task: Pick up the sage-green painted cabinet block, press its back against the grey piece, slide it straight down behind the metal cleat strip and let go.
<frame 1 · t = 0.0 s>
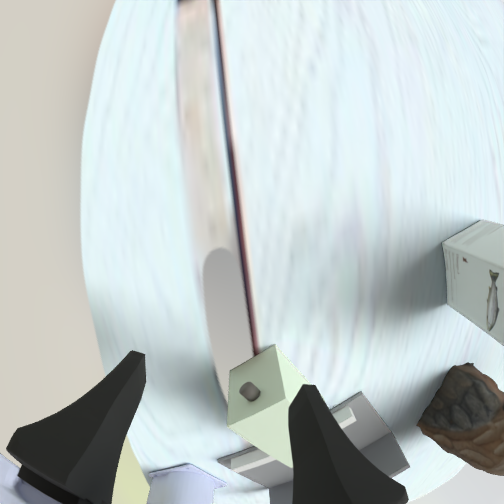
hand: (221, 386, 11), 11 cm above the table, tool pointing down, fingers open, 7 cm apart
supplement box: (464, 261, 22), on the table
owl: (449, 394, 27), on the table
grey piece: (329, 464, 28), on the table
cabinet block: (279, 385, 24), on the table
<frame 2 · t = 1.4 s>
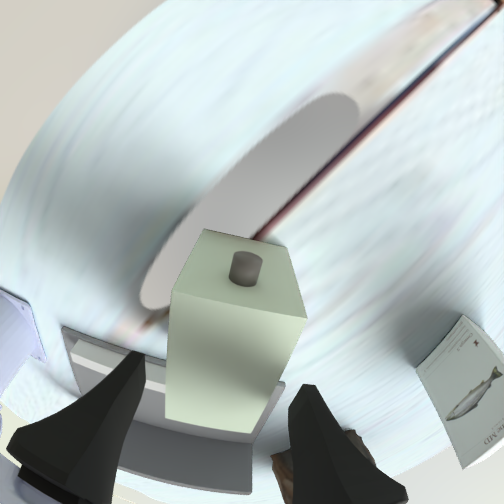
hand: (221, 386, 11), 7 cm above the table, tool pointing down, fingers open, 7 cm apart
supplement box: (451, 348, 20), on the table
owl: (320, 451, 27), on the table
grey piece: (164, 427, 25), on the table
cabinet block: (230, 301, 18), on the table
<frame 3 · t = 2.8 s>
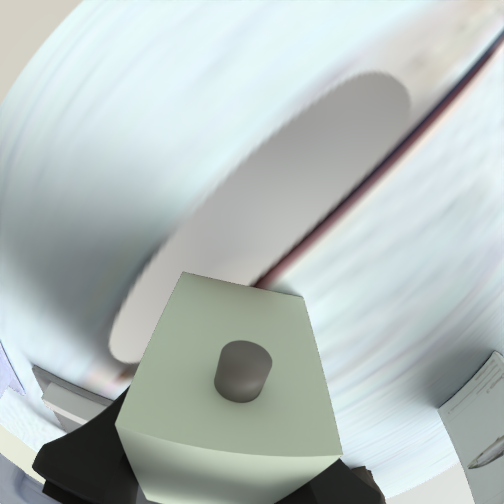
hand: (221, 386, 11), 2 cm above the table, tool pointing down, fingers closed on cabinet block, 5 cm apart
supplement box: (476, 384, 15), on the table
owl: (325, 484, 22), on the table
grey piece: (156, 466, 20), on the table
cabinet block: (224, 361, 12), on the table, touching gripper
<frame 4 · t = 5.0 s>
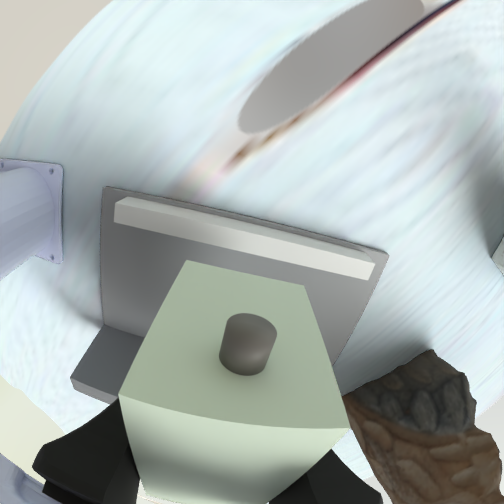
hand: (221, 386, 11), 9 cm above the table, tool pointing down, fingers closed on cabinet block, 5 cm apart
owl: (391, 389, 24), on the table
grey piece: (215, 357, 22), on the table
cabinet block: (225, 352, 13), point 7 cm above the table, touching gripper
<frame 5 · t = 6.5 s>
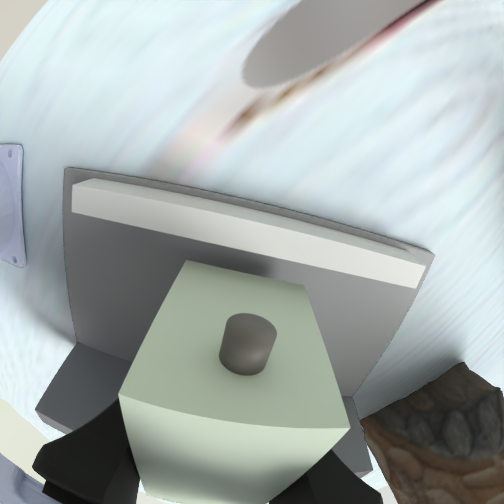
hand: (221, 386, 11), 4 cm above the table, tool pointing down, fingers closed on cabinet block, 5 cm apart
owl: (416, 407, 20), on the table
grey piece: (214, 383, 17), on the table
cabinet block: (225, 352, 13), point 2 cm above the table, touching gripper
when the fingers open (4 cm above the table, at t = 7.5 s): cabinet block drops 1 cm, resting on grey piece.
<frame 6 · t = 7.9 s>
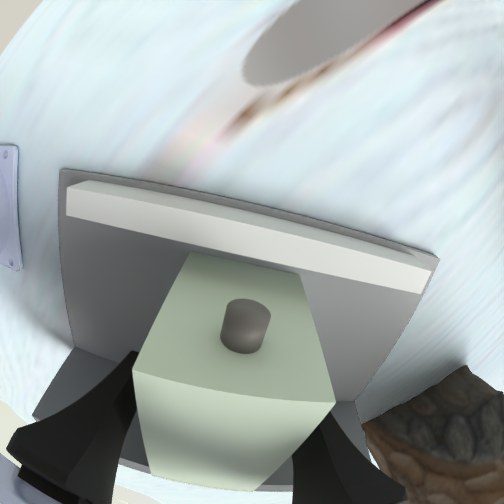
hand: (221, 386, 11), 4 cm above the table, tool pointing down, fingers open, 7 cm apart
owl: (418, 410, 19), on the table
grey piece: (213, 389, 16), on the table
cabinet block: (226, 338, 14), resting on grey piece
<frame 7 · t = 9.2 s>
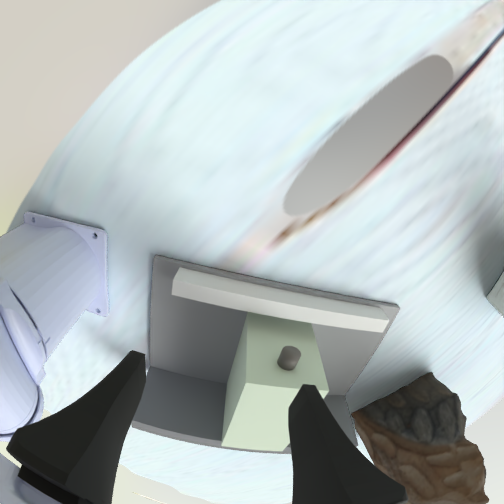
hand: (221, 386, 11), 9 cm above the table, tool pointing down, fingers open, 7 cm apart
owl: (395, 404, 27), on the table
grey piece: (250, 388, 24), on the table
cabinet block: (265, 356, 22), resting on grey piece
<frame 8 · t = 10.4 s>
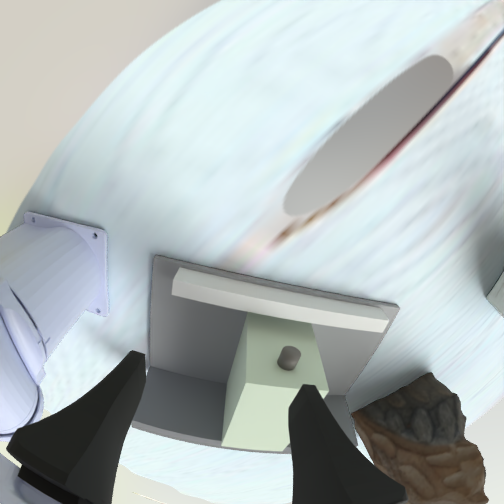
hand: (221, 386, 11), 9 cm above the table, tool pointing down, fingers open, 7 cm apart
owl: (395, 404, 27), on the table
grey piece: (250, 388, 24), on the table
cabinet block: (265, 356, 22), resting on grey piece
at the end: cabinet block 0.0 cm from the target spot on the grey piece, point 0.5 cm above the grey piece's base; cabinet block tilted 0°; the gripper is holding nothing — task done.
